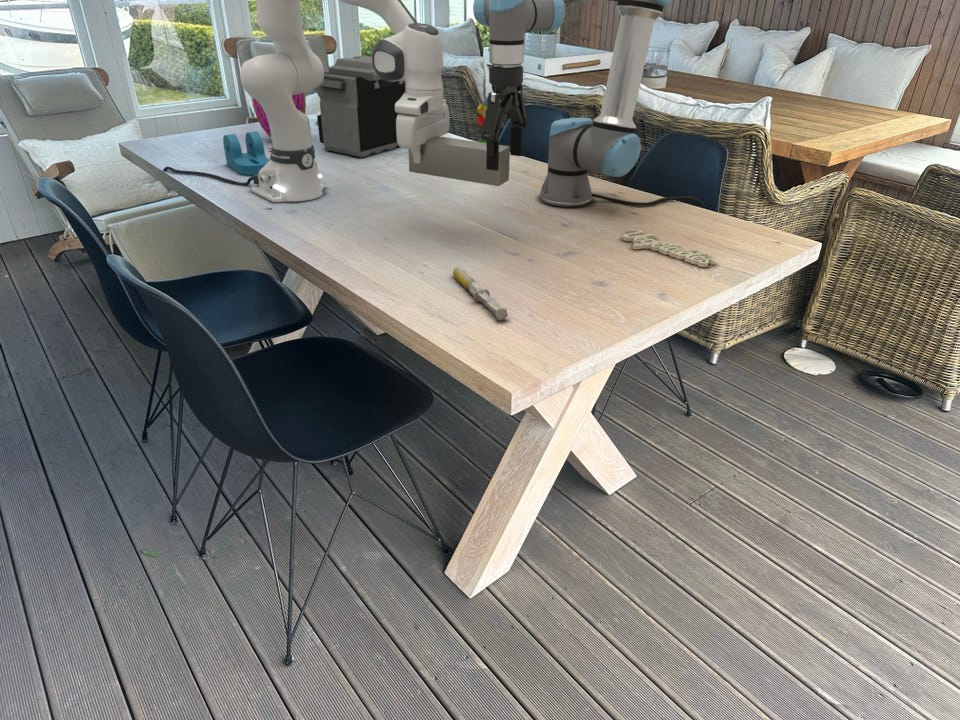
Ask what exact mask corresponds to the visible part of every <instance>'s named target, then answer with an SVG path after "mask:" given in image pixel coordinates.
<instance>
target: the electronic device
mask: <svg viewBox="0 0 960 720" xmlns="http://www.w3.org/2000/svg"><path fill="white" fill-rule="evenodd" d="M314 91H315V93H316V94H317V96H318V98H319V111H321V115H319V116H318V117H317V116H316V119H317V120H318V121H317V128H318V138H319V143H320V144H323V146H324V149H325V150H327V151H330V152H335V153H340V154H344V155H348V156H353V157H357V158H362V159H363V158H366V157H367V158H368V157H369V155H371V154H375V155H377V154H381V153H382V152H383V151H391V150H395V149H396V148H397V147H400V146H399V145H398V142H397V133H396V119H397V115H398V114H399V113H396V112H395V104H396V102H397V101H398V100H399V99H400V98H401V97H402V96H403V94H404V93H405V81H403V80H401V81H395V82H390V81H385V80H383V79H381V78H380V77H379V76H378V75H377V73H376V72H375V70H374V67H373V63H372V56H367V55H356V56H353V57H350V58H349V57H343V58H342V57H341V58H337V59H336V60H335V63H334V64H333V65H330V66H329V67H328V72H327V71H324V79H323V82H322V84H321V85H320V86H319V87H317V88H315V89H314Z"/></svg>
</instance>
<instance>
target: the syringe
mask: <svg viewBox="0 0 960 720" xmlns="http://www.w3.org/2000/svg"><path fill="white" fill-rule="evenodd" d="M452 274H453V277H454V279H455V280H457V281H458V282H459V283H460V285H462V287H464V289H466V290H467V291H468V293H470V295H471V296H472V298H473V300H474V302H477V303H478V302H480V303H482V304H483V305H484V306H485V307H486V308H487V309H488V310H489V311H490V312H491V313H492V314H493V315H494V316H495V317H496V320H497V321H503V320H504V319H506V318H507V317H509V314H508V310H507V308H506V307H502V306H501V305H500V303H498V302H497V301H496V300H494V299H493V298H492V297H491V296H490V295H491V293H490V290H488V289H486V288H483V287H482V286H481V285H480V284H479V283H478V282H477V281H476V280H474V278H473V277H471V275H469V274H468V273H467V272H466V270H465V269H464V268H463V267H462V266H456V267H454V268H453V271H452Z"/></svg>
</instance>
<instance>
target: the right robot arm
mask: <svg viewBox="0 0 960 720" xmlns="http://www.w3.org/2000/svg"><path fill="white" fill-rule="evenodd" d="M592 1H594V0H474V1H473V4H472V12H473V17H474V19H475V21H476V22H477V23H478V24H480V25H481V26H485V27H488V28H489V29H488V30H489V32H488V33H489V46H488V47H487V51H488V52H489V57H488V58H489V60H488V61H489V63H490V64H491V65H490V66H489V68H488V83H489V84H490V85H492V86H494V87H495V89H494V92H492V91H491V92H488V94H487V97H488V105H487V110H486V115H485V121H484V124H483V125H482V132H481V136H480V138H482V140H486V141H487V155H486V169H488V170H495V171H498V170H499V145H500V140H498V137H499V134H500V131H501V127H502V125H503V123H502V122H503V121H504V117H505V115H506V114H508V116H509V119H510V121H511V124H512V126H511V127H510V156H513V157H522V156H523V131H524V129H523V128H527V127H528V123H527V121H528V118H527V111H526V105H525V99H524V91H523V90H524V89H523V82H524V66H523V65H522V64H523V63H525V34H527V33H536V32H549V31H552V30H556V29H558V28H559V27H561V25H562V24H563V22H564V20H565V18H566V6H567V5H570V4H573V3H576V2H581V3H590V2H592ZM607 1H608V2H609V1H610V2H617V3H616V10H617V11H618V13H619V15H620V17H619V23H618V27H617V32H616V37H615V41H614V48H613V51H612V56H611V62H610V67H609V71H608V77H607V81H606V85H605V91H604V96H603V100H602V105H601V111H600V114H599V115H598V116H597V117H595V118H594V119H592V118H589V117H570V118H568V117H567V118H562V119H557V120H554V121H553V122H552V123H551V125H550V129H549V130H550V131H549V135H548V156H547V158H548V159H547V173H546V176H545V178H544V181H543V184H542V187H541V189H540V192H539V200H540V202H542V203H543V204H546V205H549V206H553V207H558V208H559V207H560V208H580V207H584V206H588V205H589V204H591V203H592V199H593V198H597V199H601V200H605V201H609V202H613V203H617V204H618V203H619V204H623V205H627V206H628V205H629V206H637V207H648V206H653V205H657V204H659V203H662V202H665V201H681V200H683V201H684V200H689V201H693V202H695V203H697V204H698V205H699V206H704V203H703V202H702V201H701V200H700V199H698V198H697V197H695V196H689V195H683V196H682V195H681V196H665V197H661V198H657V199H656V200H652V201H645V202H644V201H643V202H642V201H641V202H640V201H630V200H629V201H628V200H623V199H619V198H615V197H609V196H606V195H602V194H597V193H594V192H592V188H591V184H590V179H589V171H590V172H593V173H597V174H601V175H603V176H606V177H607V176H608V177H614V178H620V177H623V176H626V175H627V174H628V173H630V171H632V169H633V168H634V167H635V165H636V164H637V162H638V160H639V157H640V155H641V149H642V144H641V139H640V137H639V135H637V134H636V131H637V125H636V123H635V122H634V120H633V118H634V113H635V110H636V105H637V102H638V101H637V100H638V96H639V91H640V86H641V82H642V79H643V73H644V70H645V65H646V60H647V56H648V52H649V48H650V42H651V38H652V33H653V29H654V25H655V22H656V20H657V19H659V18H660V17H661V16H662V15H663V12H664V7H665V6H668V5H669V4H671V3H672V2H673V1H674V0H607Z"/></svg>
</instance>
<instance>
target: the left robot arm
mask: <svg viewBox="0 0 960 720" xmlns="http://www.w3.org/2000/svg"><path fill="white" fill-rule="evenodd" d="M255 1H256V13H257V22H258V23H257V24H258V26H259V28H260V30H261V31H262V32H263V33H264V34H265V35H267V36H268V37H270V38H271V40H272V42H273V45H274V48H275V53H268V54H261V55H257V56H255V57H252V58H250V59H248V60H245V61H244V62H243V63H242V65H241V67H240V72H239V78H240V79H239V80H240V83H241V85H242V87H243V89H244V91H245V92H246V93H247V95H248V96H250V97H251V98H252V97H253V98H254V99H255V100H257V101H258V103H259V104H260V105H261V107H262V108H263V110H264V112H265V114H266V116H267V119H268V122H269V127H270V132H271V137H270V138H271V143H272V147H268V148H267V150H268V151H267V153H270V157H269V160H270V161H269V162H268V163H267V164H266V165H265V166H264V167H263V168H262V169H261V170H260V171H259V174H257V175H252V176H250V177H248V178H247V181H246V182H239V181H236V180H233V179H230V178H225V177H222V176H220V175H216V174H213V173H207V172H202V171H194V170H180V169H176V168H173V167H171V166H165V167H164V168H163V170H162V171H163V172H167V171H168V170H169V171H171V172H173V173H176V174H186V175H197V176H204V177H208V178H209V177H210V178H212V179H217V180H219V181H222V182H226V183H230V184H233V185H237V186H243V187H245V186H249V185H250V184H251V182H252V181H253V184H254V186H252V187H251V192H252V193H253V194H256V195H258V196H260V197H262V198H264V199H266V200H268V201H271V202H273V203H283V202H305V201H311V200H314V199H317V198H320V197H322V196H323V194H324V191H323V190H324V189H325V186H324V184H322V181H321V179H322V178H323V175H322V174H321V173H320V172H319V167H318V163H317V162H316V161H315V159H316V154H315V153H316V151H315V147H314V145H313V142H312V141H313V140H312V132H311V122H310V119H309V117H308V116H307V114H306V113H305V114H304V113H303V112H301V111H299V110H297V108H296V106H295V104H294V102H293V98H292V95H295V94H301V93H305V94H307V93H309V92H311V91H313V90H315V88H317V87H319V86H320V85H321V84H322V82H323V79H324V72H325V68H324V64H323V62H322V60H321V59H320V57H319V56H318V55H317V54H316V53H314V51H313V50H312V49H311V48H310V46H309V43H308V41H307V39H306V36H305V33H304V28H303V20H302V8H301V7H302V6H301V0H255ZM338 1H339V2H341V3H344V4H347V5H351V6H354V7H360V8H362V9H366V10H368V11H371V12H372V13H375V15H377V16H379V17H380V18H381V19H382V20H383V21H384V23H386V26H388V28H389V29H390V31H392V33H393V34H394V35H391V36H387V37H385V38H382V39H379V40H378V41H377V42H376V43H374V46H373V48H372V51H371V52H372V53H371V57H372V63H373V67H374V70H375V72H376V73H377V75H378V76H379V77H380V78H381V79H383V80H385V81H390V82H395V81H401V80H403V81H405V93H404V94H403V96H402V97H401V98H400V99H399V100H398V101H397V102H396V104H395V112H396V113H399V114H398V115H397V119H396V133H397V142H398V145H399V146H398V147H399V148H401V149H408V150H409V149H410V150H411V152H412V154H413V161H414V163H418V164H419V163H421V162H422V161H423V159H422V158H423V157H422V155H421V154H420V150H419V149H421V145H422V144H424V143H425V141H427V140H429V139H431V138H434V137H436V136H440V137H443V136H444V135H447V134H448V133H449V132H450V128H451V122H450V120H451V119H450V110H449V109H450V108H449V105H448V104H447V99H446V98H445V96H444V85H443V79H442V73H443V69H444V51H443V49H444V48H443V42H442V41H443V39H442V36H441V33H440V31H439V29H438V28H436V27H435V26H433V25H430V24H427V23H421V22H417V20H416V19H415V17H414V16H413V15H412V13H411V12H410V10H409V9H408V8H407V6H406V5H405V4H404V3H403V1H402V0H338Z"/></svg>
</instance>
